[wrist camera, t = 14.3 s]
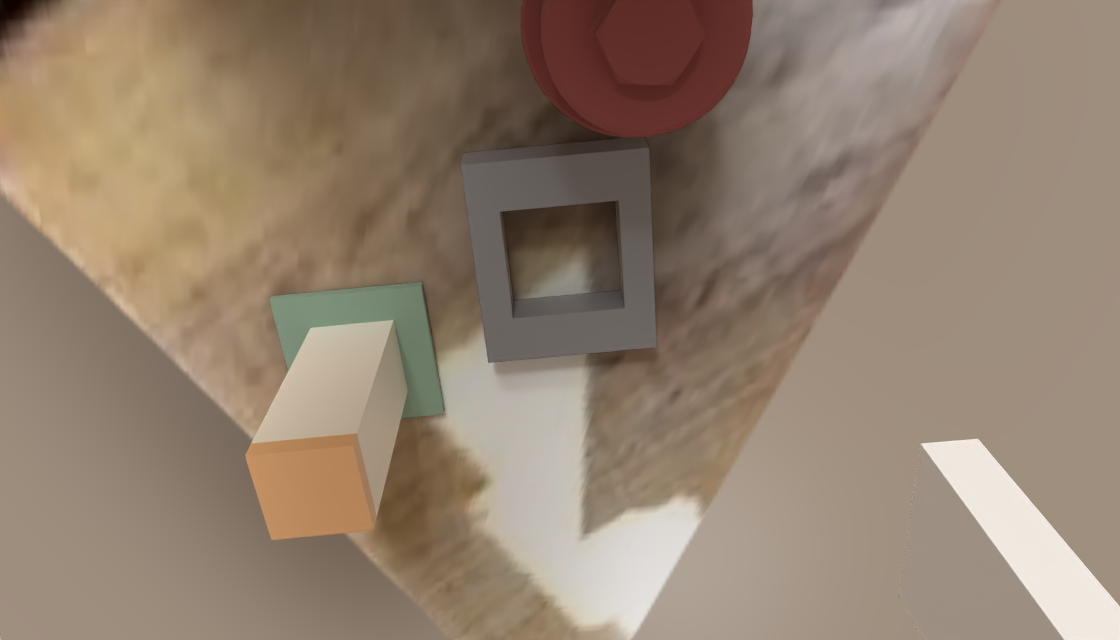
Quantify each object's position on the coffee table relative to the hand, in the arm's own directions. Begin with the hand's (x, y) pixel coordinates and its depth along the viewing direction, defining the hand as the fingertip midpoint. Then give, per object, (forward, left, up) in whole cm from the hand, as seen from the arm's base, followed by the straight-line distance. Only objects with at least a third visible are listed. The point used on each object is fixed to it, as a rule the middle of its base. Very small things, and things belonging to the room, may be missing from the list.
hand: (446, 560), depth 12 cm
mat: (+16, -11, -37) cm, 41 cm away
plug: (+16, -11, -36) cm, 41 cm away
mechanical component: (-3, +6, -37) cm, 37 cm away
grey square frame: (+10, +2, -37) cm, 38 cm away
